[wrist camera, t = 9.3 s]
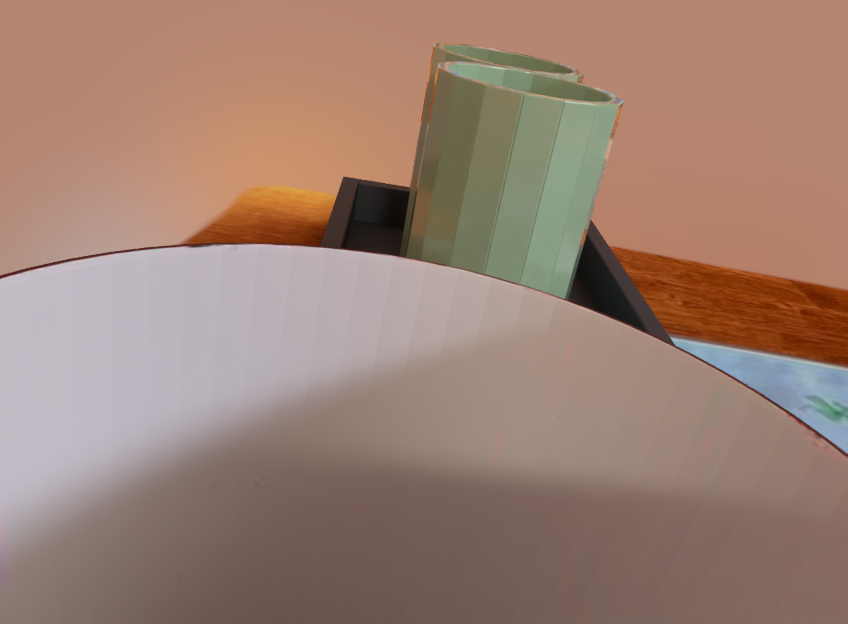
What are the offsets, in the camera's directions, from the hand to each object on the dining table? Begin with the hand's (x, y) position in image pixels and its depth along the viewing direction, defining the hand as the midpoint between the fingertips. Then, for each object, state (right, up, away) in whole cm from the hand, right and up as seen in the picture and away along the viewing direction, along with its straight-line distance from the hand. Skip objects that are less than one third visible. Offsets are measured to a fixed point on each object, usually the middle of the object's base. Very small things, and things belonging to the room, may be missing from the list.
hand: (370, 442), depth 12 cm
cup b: (+3, +1, +18) cm, 18 cm away
